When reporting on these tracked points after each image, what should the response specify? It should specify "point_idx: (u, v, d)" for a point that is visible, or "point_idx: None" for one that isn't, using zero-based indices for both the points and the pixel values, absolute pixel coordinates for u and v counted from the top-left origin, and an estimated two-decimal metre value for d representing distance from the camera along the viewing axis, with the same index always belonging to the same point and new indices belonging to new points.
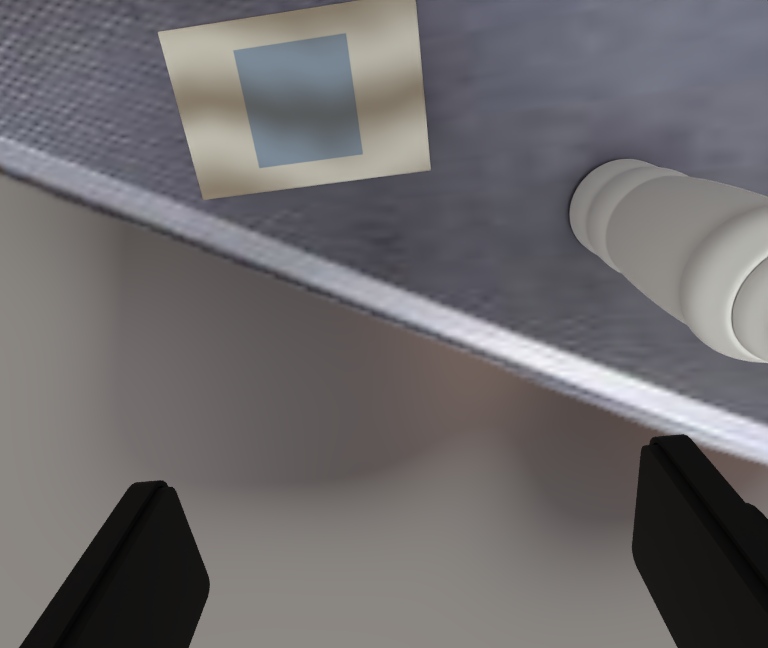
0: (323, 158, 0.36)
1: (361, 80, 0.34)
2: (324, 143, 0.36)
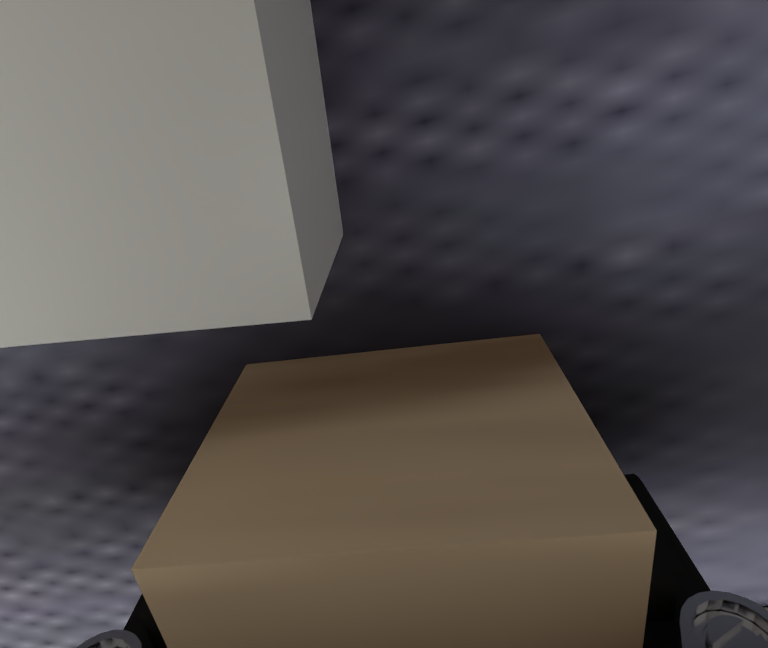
0: None
1: None
2: None
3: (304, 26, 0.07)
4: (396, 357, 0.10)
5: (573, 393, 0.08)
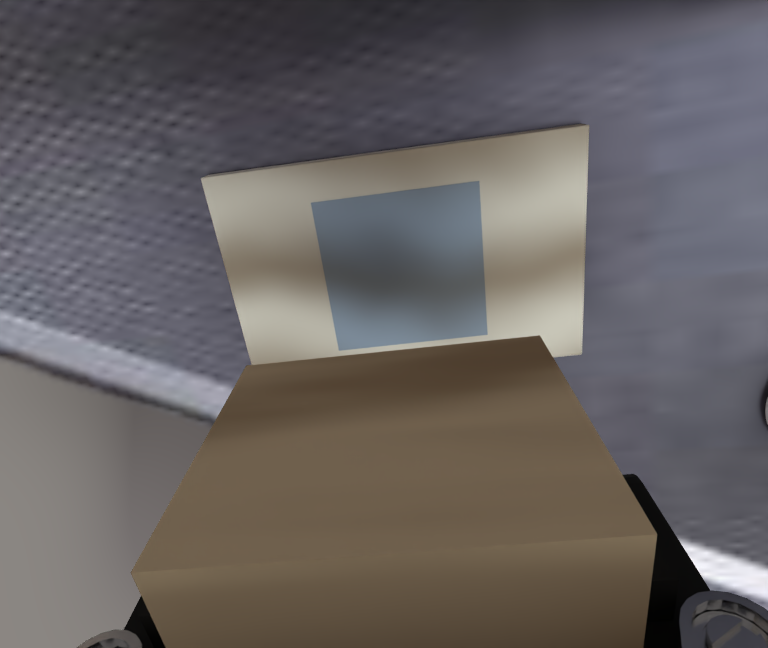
0: (430, 339, 0.26)
1: (495, 242, 0.24)
2: (434, 321, 0.25)
3: None
4: (396, 359, 0.10)
5: (573, 395, 0.08)
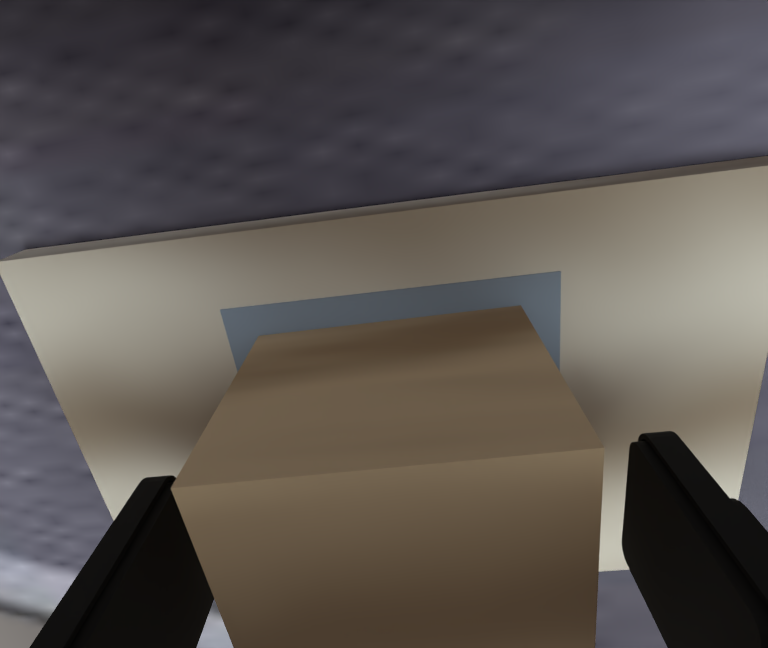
0: None
1: (584, 382, 0.12)
2: None
3: None
4: (393, 327, 0.11)
5: (546, 351, 0.09)
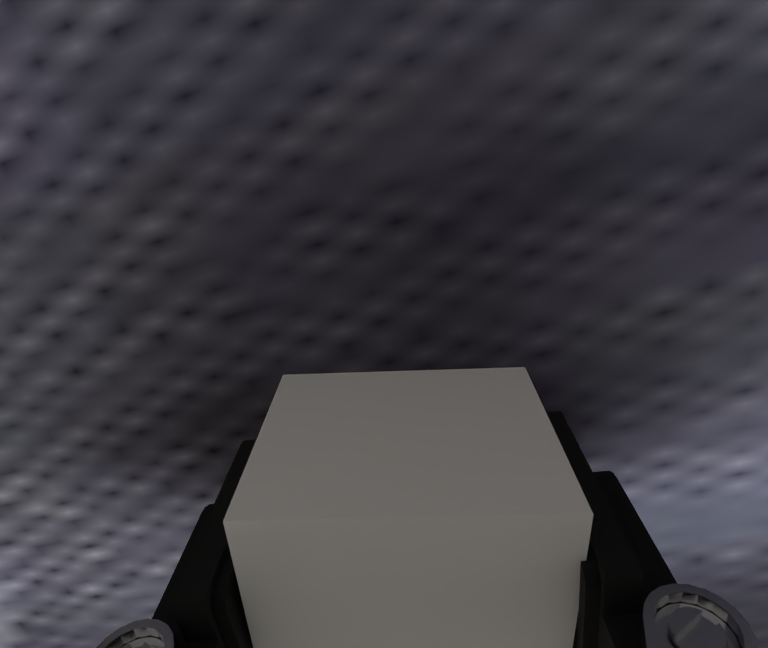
0: None
1: None
2: None
3: None
4: None
5: None
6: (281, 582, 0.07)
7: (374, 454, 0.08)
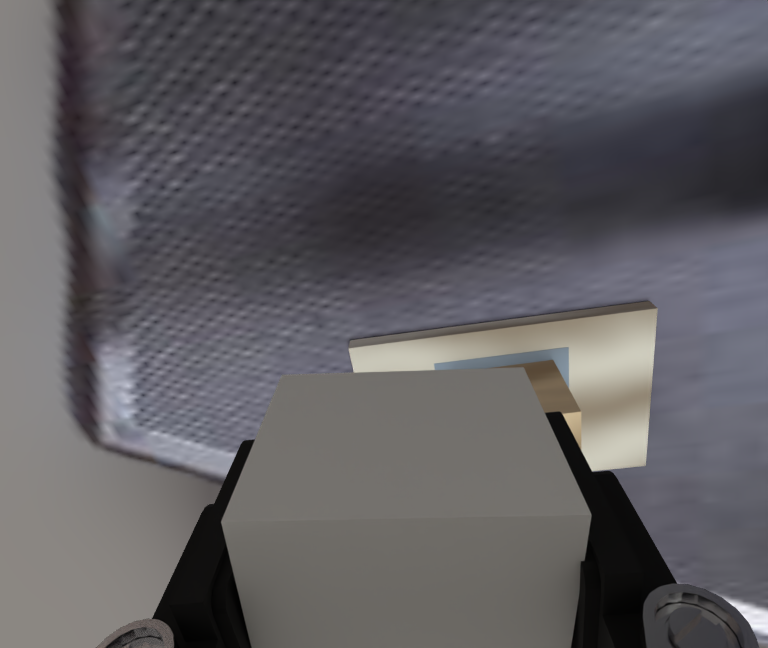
0: None
1: (579, 388, 0.30)
2: None
3: None
4: None
5: (563, 380, 0.27)
6: (280, 582, 0.07)
7: (373, 454, 0.08)
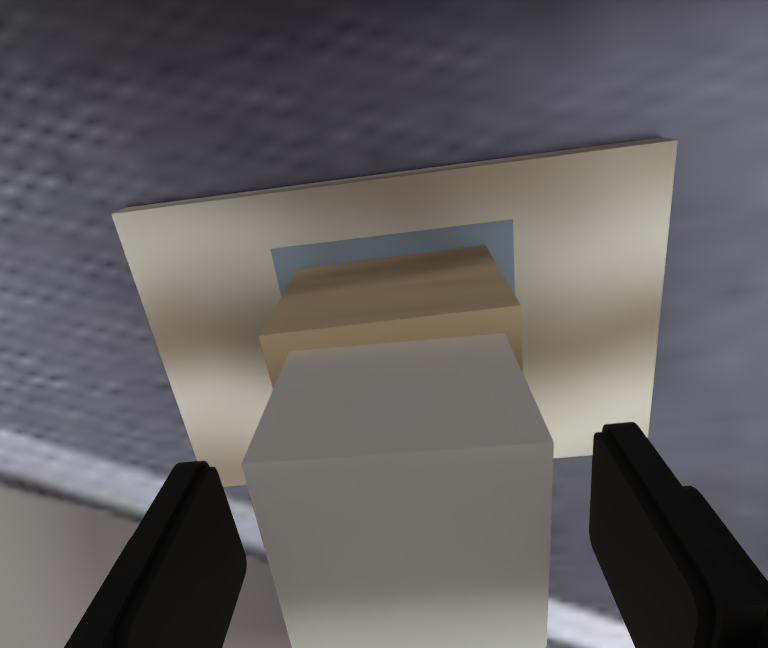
0: None
1: (533, 304, 0.17)
2: None
3: None
4: (394, 260, 0.16)
5: (497, 266, 0.14)
6: (293, 516, 0.09)
7: (369, 408, 0.09)
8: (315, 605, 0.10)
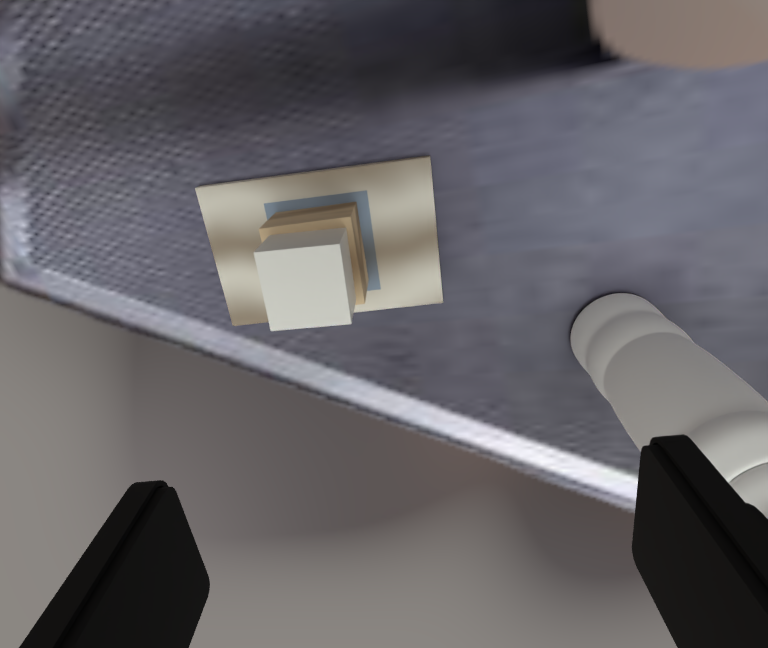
0: None
1: (380, 228, 0.37)
2: None
3: (348, 259, 0.32)
4: (316, 207, 0.37)
5: (353, 207, 0.35)
6: (268, 271, 0.30)
7: (292, 242, 0.30)
8: (276, 306, 0.30)
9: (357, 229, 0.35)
